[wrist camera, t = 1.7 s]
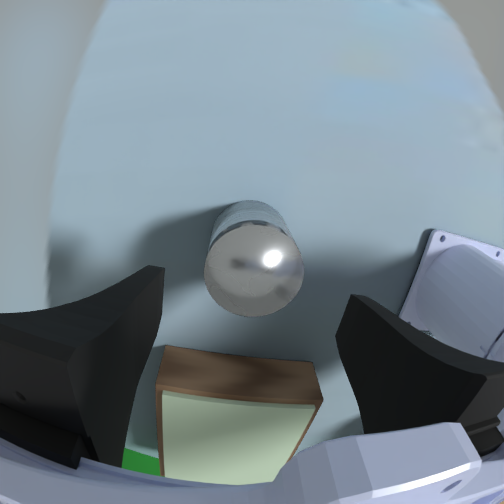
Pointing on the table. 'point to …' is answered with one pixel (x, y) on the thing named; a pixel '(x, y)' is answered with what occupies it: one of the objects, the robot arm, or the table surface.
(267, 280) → the grey metal cylinder
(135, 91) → the table surface
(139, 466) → the pipe clamp
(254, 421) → the walnut stand
